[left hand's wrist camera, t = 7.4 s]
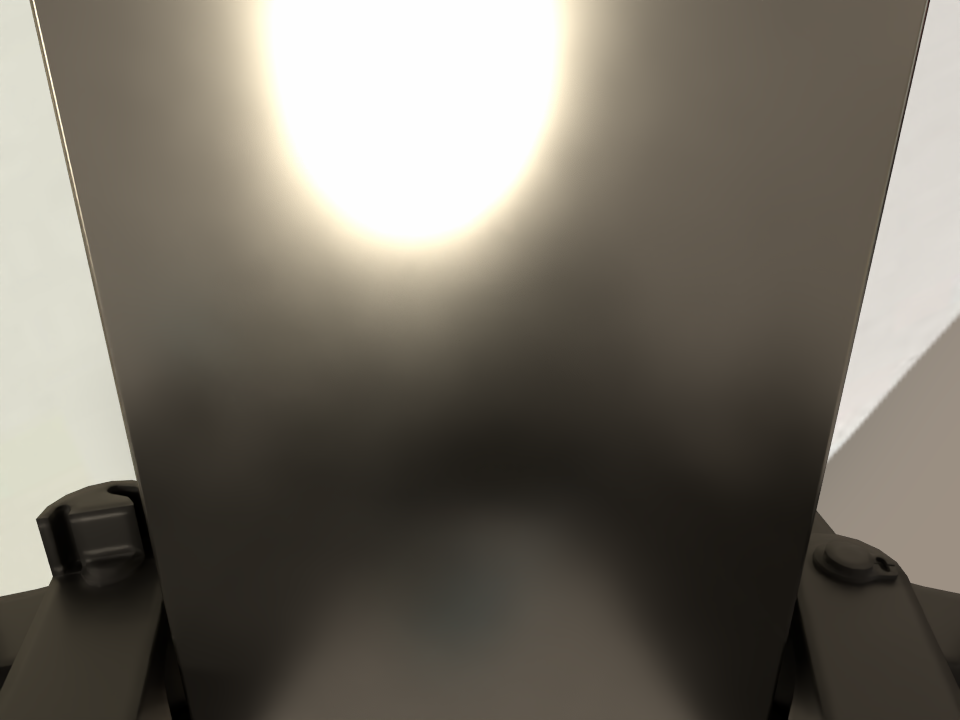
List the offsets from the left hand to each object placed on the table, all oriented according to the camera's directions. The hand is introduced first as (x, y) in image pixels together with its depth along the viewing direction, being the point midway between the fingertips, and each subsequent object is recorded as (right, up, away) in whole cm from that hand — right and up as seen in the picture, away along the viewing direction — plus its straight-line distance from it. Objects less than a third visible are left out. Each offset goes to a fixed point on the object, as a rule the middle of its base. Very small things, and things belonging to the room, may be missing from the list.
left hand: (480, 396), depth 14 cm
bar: (0, +8, -3) cm, 8 cm away
